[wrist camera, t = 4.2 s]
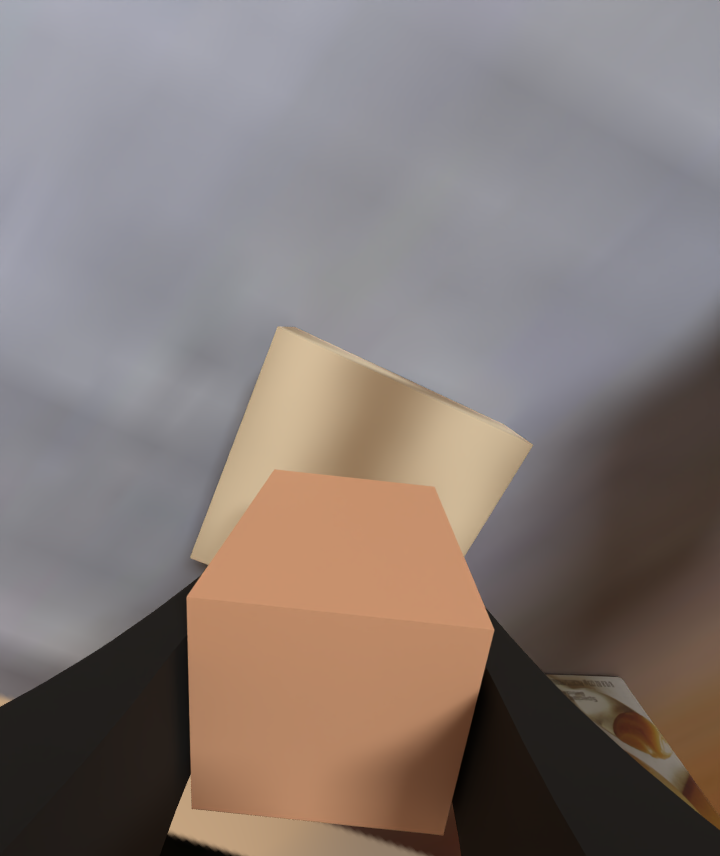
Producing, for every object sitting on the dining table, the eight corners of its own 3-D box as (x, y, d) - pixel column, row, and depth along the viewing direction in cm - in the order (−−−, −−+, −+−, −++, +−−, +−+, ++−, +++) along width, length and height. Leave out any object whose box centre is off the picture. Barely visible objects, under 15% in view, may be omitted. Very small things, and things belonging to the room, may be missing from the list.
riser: (503, 424, 16) (533, 445, 13) (403, 595, 18) (409, 644, 16) (295, 327, 15) (277, 326, 12) (219, 520, 18) (190, 557, 15)
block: (434, 486, 10) (494, 630, 5) (411, 618, 11) (443, 835, 6) (274, 469, 10) (186, 596, 5) (268, 603, 11) (191, 808, 6)
